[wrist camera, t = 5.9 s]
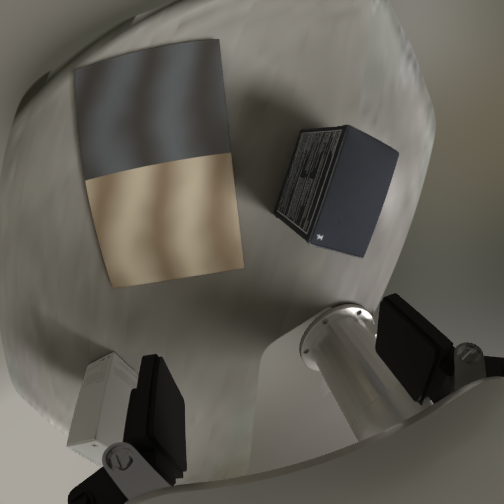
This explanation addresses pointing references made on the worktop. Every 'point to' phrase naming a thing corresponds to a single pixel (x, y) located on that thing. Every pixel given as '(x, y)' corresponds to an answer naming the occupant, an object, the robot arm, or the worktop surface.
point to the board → (159, 163)
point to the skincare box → (101, 407)
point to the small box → (336, 188)
